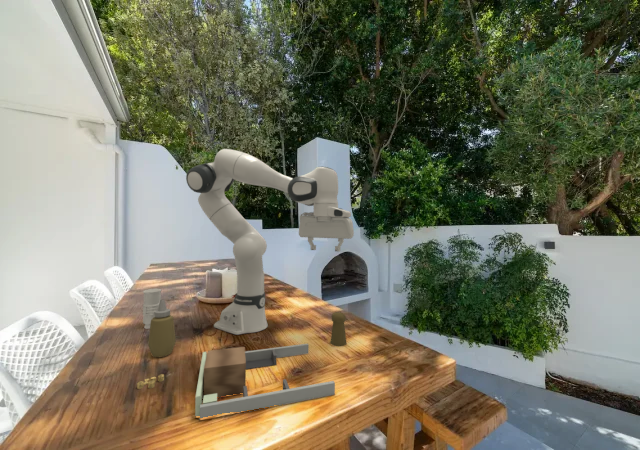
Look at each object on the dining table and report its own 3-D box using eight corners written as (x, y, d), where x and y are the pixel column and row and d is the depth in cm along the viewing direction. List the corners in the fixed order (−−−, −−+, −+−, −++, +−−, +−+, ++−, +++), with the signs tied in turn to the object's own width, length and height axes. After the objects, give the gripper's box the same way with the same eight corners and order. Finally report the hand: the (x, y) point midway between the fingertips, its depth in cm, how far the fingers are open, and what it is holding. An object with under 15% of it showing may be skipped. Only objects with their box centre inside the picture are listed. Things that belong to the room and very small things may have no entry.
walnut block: (244, 374, 82) (244, 346, 82) (245, 394, 73) (245, 363, 73) (207, 379, 79) (207, 350, 79) (203, 400, 70) (203, 368, 70)
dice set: (165, 381, 79) (165, 374, 79) (154, 391, 74) (154, 384, 74) (147, 380, 79) (147, 373, 79) (135, 391, 74) (135, 384, 74)
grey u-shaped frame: (307, 352, 96) (307, 343, 96) (334, 394, 73) (334, 382, 73) (206, 366, 86) (206, 356, 86) (199, 421, 62) (199, 407, 62)
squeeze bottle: (181, 350, 97) (181, 297, 97) (160, 361, 89) (161, 304, 89) (163, 346, 99) (163, 295, 99) (141, 357, 92) (142, 301, 92)
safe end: (218, 366, 86) (218, 350, 86) (216, 415, 64) (217, 393, 64) (202, 368, 85) (202, 352, 85) (195, 419, 63) (195, 396, 63)
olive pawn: (345, 347, 101) (346, 316, 101) (328, 345, 102) (329, 314, 102) (347, 340, 107) (347, 311, 107) (331, 338, 108) (331, 309, 108)
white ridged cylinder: (138, 327, 117) (138, 291, 117) (153, 322, 123) (154, 288, 123) (150, 330, 114) (150, 293, 114) (165, 324, 121) (165, 289, 121)
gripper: (295, 212, 103) (295, 250, 103) (350, 211, 95) (349, 252, 95) (303, 212, 109) (303, 248, 109) (355, 212, 101) (354, 251, 101)
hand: (325, 250), depth 102 cm, fingers open, 8 cm apart
